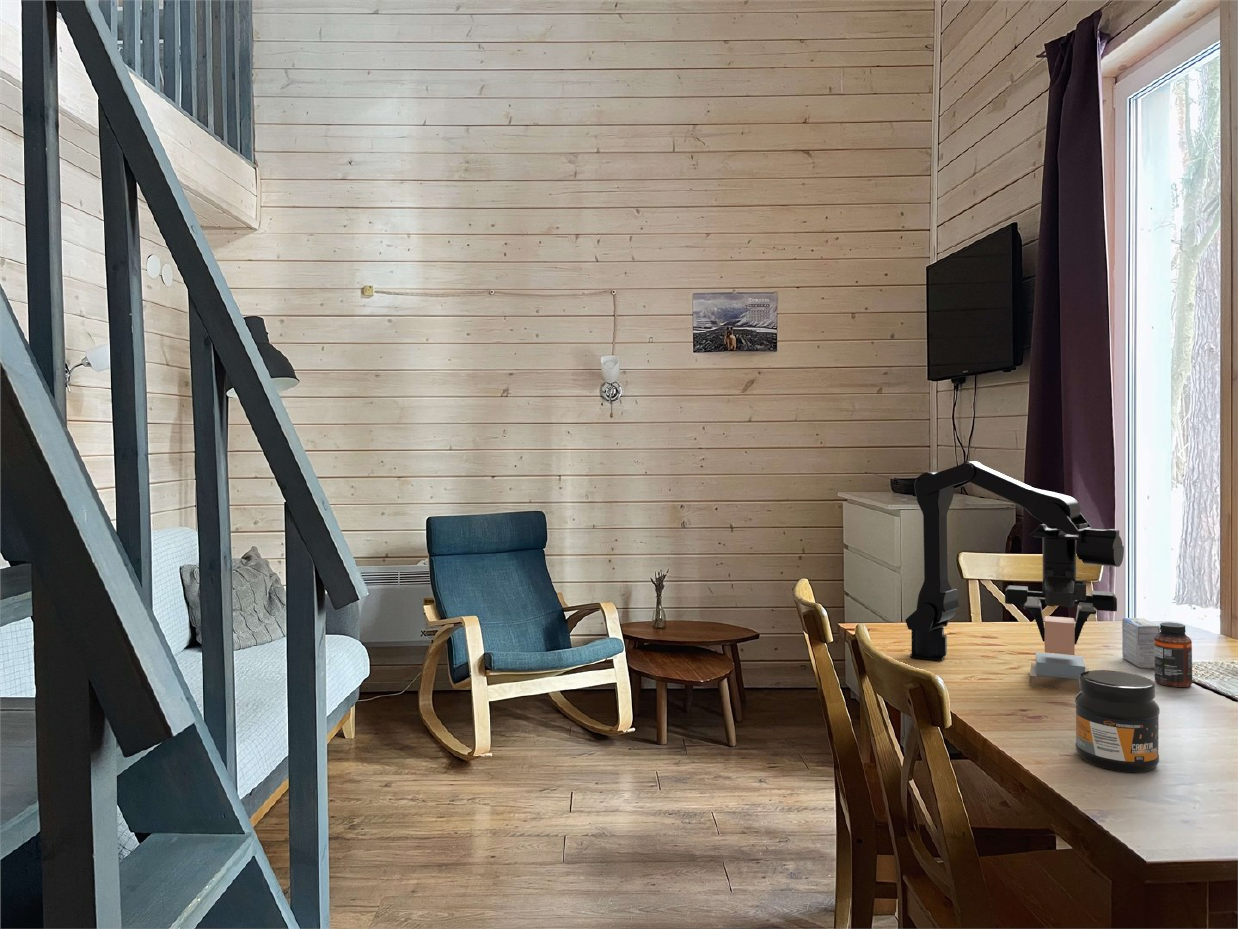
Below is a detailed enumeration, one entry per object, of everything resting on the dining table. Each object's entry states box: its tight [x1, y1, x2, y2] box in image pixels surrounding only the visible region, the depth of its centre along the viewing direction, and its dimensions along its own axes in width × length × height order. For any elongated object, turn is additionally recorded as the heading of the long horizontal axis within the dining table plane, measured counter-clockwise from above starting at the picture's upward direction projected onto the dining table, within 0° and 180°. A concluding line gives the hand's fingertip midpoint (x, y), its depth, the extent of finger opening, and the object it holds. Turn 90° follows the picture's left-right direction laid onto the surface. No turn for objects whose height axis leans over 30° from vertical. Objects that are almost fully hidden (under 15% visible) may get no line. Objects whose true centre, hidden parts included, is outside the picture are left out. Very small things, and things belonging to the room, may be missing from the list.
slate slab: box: [1035, 652, 1086, 679], centre depth 159 cm, size 8×8×2 cm
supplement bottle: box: [1154, 621, 1193, 688], centre depth 157 cm, size 6×6×11 cm
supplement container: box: [1074, 669, 1161, 773], centre depth 121 cm, size 10×10×12 cm
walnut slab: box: [1029, 662, 1090, 692], centre depth 159 cm, size 10×10×2 cm
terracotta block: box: [1044, 615, 1076, 656], centre depth 159 cm, size 5×5×6 cm
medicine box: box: [1121, 617, 1161, 669], centre depth 171 cm, size 8×4×9 cm, turn 168°
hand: (1059, 642), depth 159 cm, fingers closed on terracotta block, 5 cm apart
